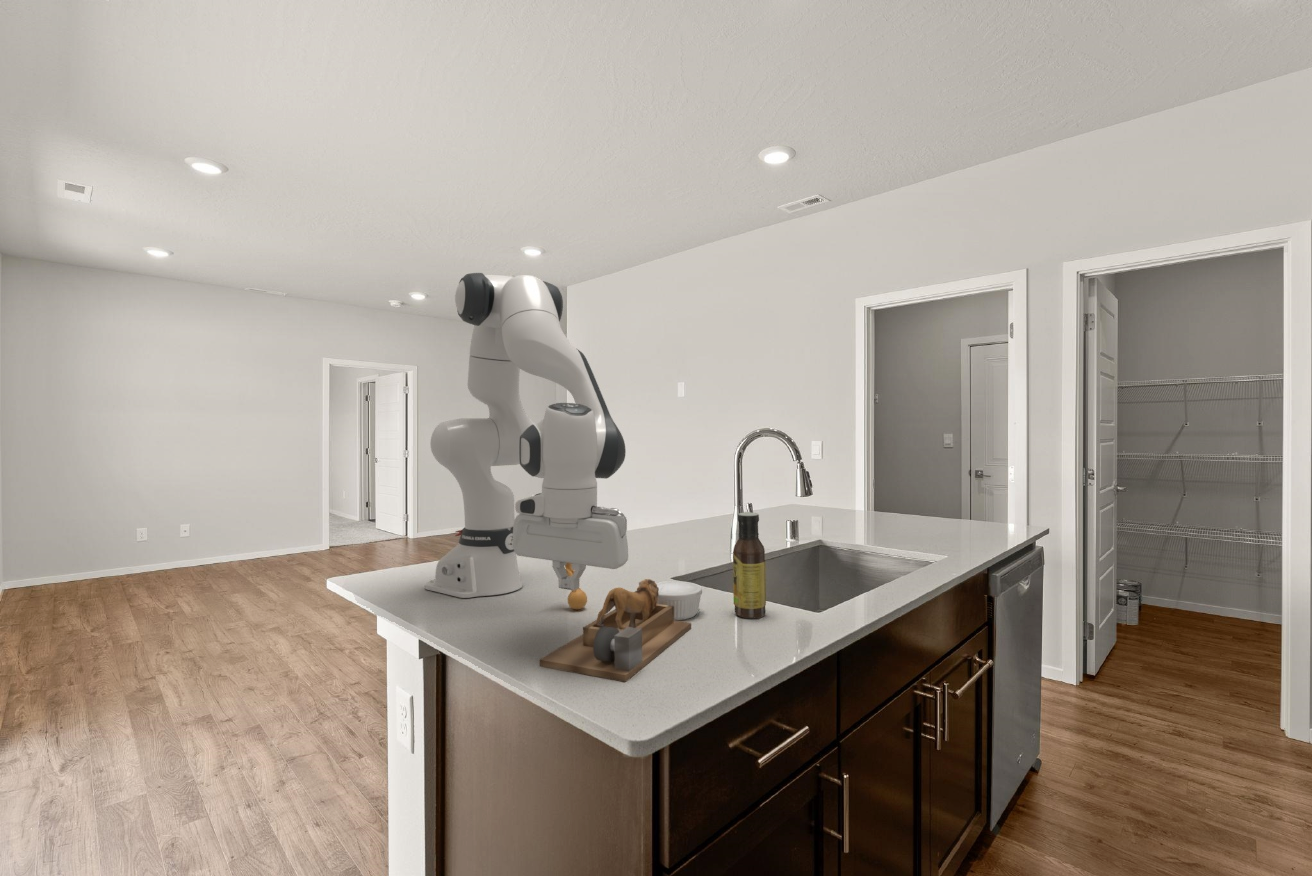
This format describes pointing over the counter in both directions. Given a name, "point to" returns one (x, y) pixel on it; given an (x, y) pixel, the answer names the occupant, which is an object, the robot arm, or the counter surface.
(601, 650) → the wheel
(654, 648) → the chassis
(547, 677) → the counter surface
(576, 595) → the figurine
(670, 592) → the ramekin
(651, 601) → the lion figurine
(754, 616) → the sauce bottle
